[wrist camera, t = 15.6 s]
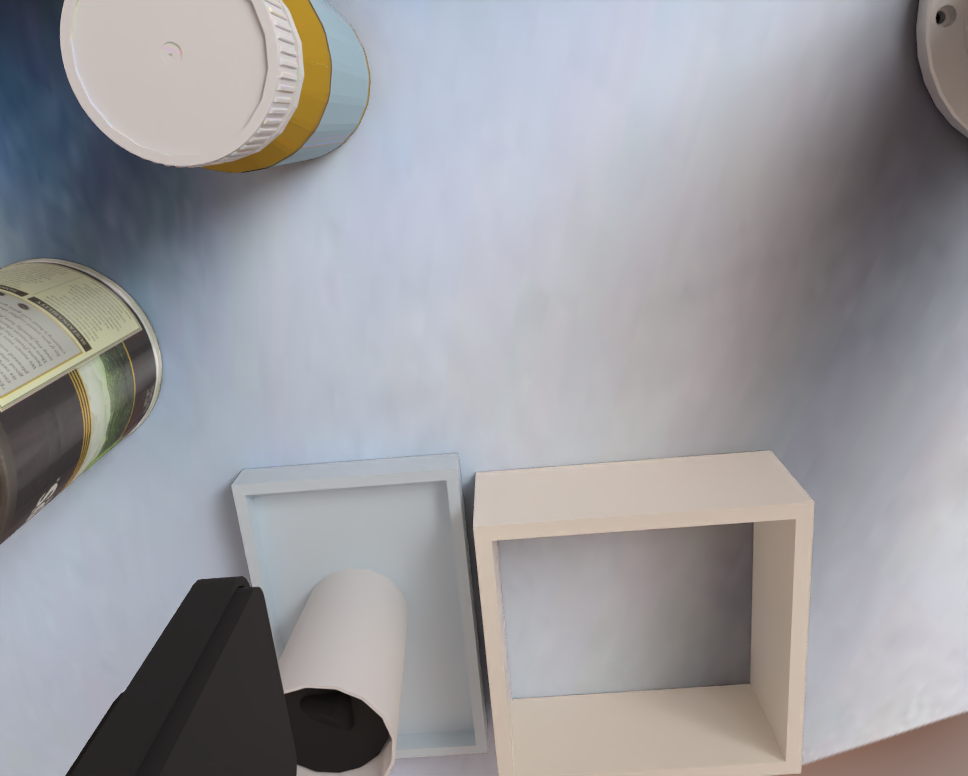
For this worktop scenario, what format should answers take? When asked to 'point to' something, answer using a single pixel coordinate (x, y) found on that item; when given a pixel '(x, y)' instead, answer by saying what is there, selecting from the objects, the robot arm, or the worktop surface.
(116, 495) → the worktop surface
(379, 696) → the white cup
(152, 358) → the coffee can
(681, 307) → the worktop surface
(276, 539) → the tray
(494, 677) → the open beige storage bin
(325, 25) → the bottle
